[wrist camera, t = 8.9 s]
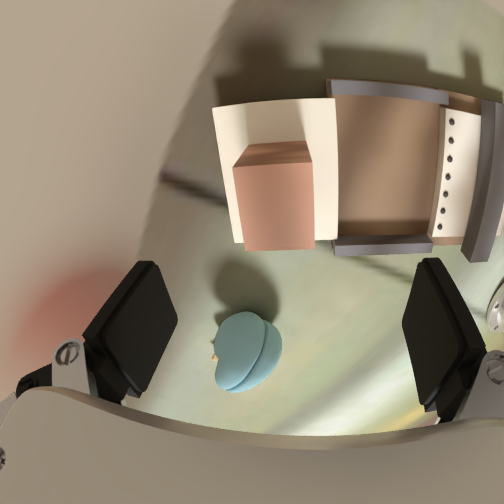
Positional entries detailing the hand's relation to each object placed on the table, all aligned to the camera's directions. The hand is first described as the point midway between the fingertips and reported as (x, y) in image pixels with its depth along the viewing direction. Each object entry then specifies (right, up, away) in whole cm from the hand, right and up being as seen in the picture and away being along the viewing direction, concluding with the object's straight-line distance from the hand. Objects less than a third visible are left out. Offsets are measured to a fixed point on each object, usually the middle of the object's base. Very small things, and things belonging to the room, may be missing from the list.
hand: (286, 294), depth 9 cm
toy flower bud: (-3, -8, +24) cm, 25 cm away
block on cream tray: (+1, +8, +11) cm, 13 cm away
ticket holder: (+14, +9, +10) cm, 19 cm away
